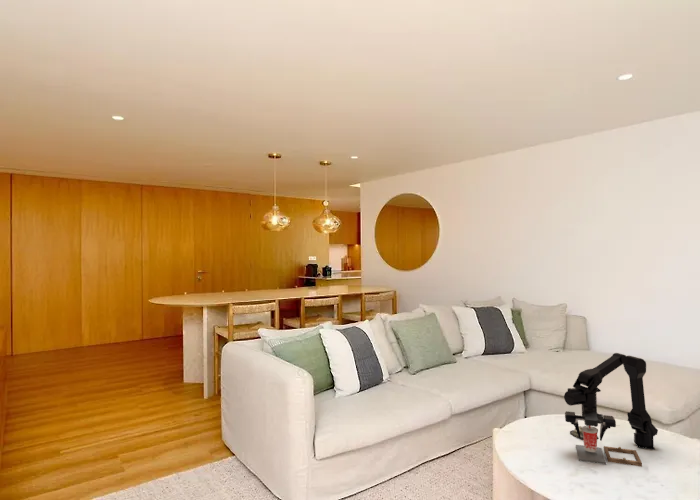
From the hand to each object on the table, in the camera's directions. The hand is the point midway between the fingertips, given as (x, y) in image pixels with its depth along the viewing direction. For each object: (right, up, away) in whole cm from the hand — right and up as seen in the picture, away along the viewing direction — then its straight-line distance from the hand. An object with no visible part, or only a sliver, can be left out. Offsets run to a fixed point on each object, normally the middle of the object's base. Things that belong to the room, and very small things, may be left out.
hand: (590, 439), depth 189 cm
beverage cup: (0, -5, 0) cm, 5 cm away
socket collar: (+12, -7, -3) cm, 14 cm away
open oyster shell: (+8, -7, +19) cm, 22 cm away
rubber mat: (0, -7, 0) cm, 7 cm away
